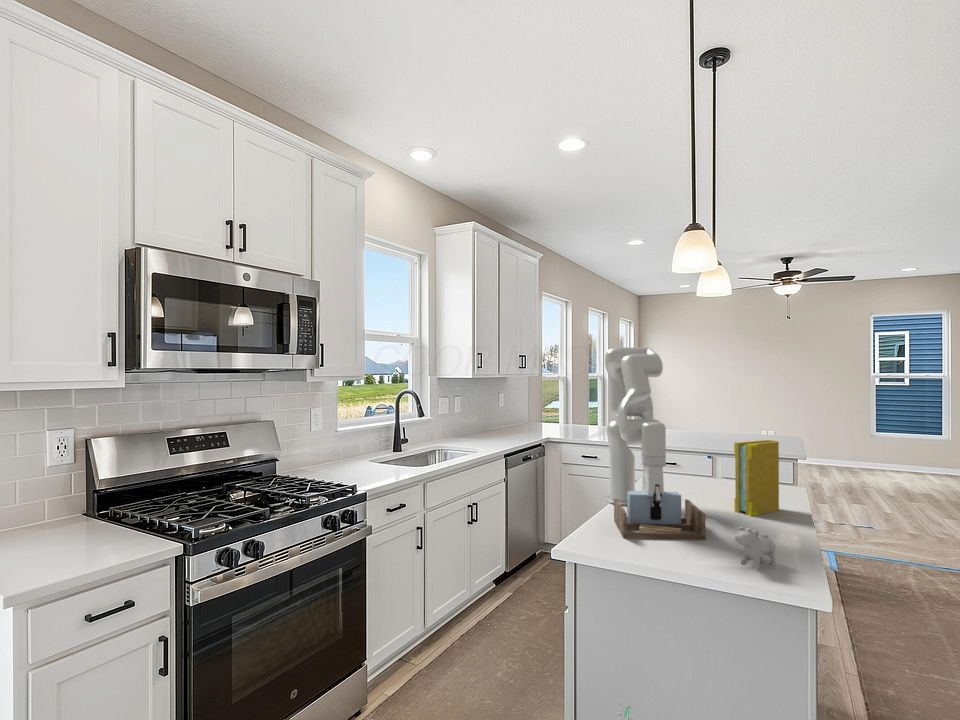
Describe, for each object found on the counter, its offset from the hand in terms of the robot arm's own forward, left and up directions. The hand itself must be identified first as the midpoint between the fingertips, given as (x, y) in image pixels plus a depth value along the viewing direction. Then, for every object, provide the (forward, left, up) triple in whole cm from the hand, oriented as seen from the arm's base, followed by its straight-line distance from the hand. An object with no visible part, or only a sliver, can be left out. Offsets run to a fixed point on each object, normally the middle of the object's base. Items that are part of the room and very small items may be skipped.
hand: (653, 516), depth 183 cm
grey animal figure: (+30, +20, -5) cm, 36 cm away
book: (-26, +43, -5) cm, 51 cm away
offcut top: (+8, 0, -3) cm, 9 cm away
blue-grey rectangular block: (0, 0, -5) cm, 5 cm away
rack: (+5, 0, -5) cm, 7 cm away
